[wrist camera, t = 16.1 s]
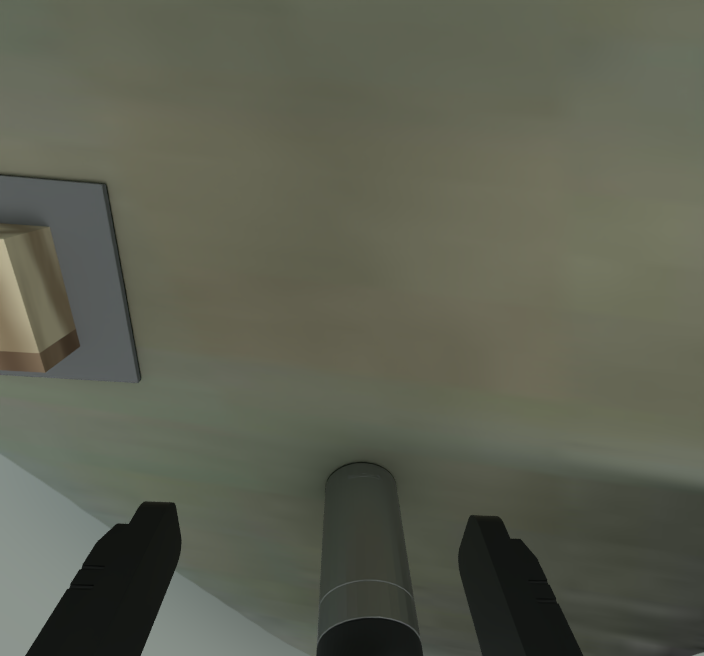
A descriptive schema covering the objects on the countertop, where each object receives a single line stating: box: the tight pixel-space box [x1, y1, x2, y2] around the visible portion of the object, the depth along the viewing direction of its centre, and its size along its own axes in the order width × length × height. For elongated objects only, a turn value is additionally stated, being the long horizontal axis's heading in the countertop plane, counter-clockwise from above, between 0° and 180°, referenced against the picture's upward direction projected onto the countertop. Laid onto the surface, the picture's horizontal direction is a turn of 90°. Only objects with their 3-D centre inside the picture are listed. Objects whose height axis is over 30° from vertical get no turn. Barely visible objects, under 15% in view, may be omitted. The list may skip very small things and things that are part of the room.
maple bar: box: [0, 223, 80, 373], centre depth 33 cm, size 4×12×5 cm, turn 175°
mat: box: [0, 175, 141, 383], centre depth 36 cm, size 20×15×1 cm
